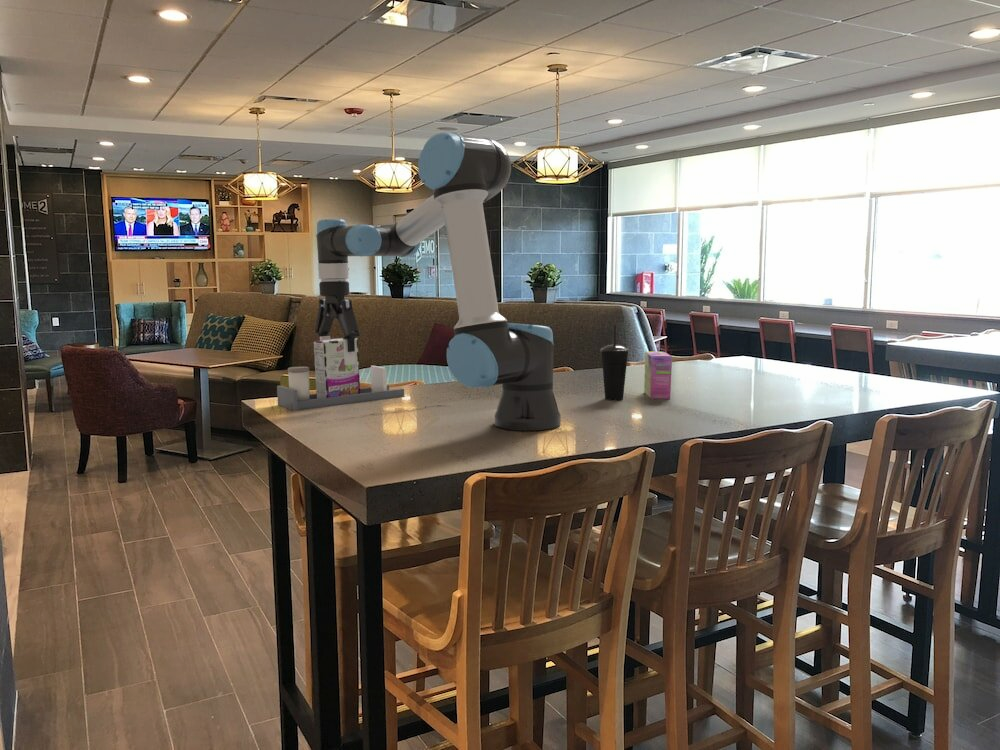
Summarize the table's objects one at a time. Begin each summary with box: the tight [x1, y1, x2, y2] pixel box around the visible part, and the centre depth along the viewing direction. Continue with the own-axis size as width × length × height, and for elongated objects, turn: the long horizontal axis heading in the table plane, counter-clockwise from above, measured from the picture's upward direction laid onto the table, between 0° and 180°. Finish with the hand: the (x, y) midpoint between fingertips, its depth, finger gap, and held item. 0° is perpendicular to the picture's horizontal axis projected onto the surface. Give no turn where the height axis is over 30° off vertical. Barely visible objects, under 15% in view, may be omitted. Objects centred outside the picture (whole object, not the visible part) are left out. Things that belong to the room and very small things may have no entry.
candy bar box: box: [313, 337, 361, 399], centre depth 207 cm, size 11×5×16 cm, turn 140°
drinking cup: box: [600, 324, 630, 401], centre depth 214 cm, size 8×8×20 cm
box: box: [643, 351, 673, 400], centre depth 219 cm, size 10×6×12 cm, turn 179°
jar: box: [287, 366, 311, 401], centre depth 201 cm, size 5×5×10 cm
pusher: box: [370, 365, 388, 392], centre depth 216 cm, size 7×4×8 cm, turn 38°
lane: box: [276, 384, 406, 412], centre depth 209 cm, size 10×32×6 cm, turn 128°
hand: (337, 362), depth 206 cm, fingers open, 13 cm apart
